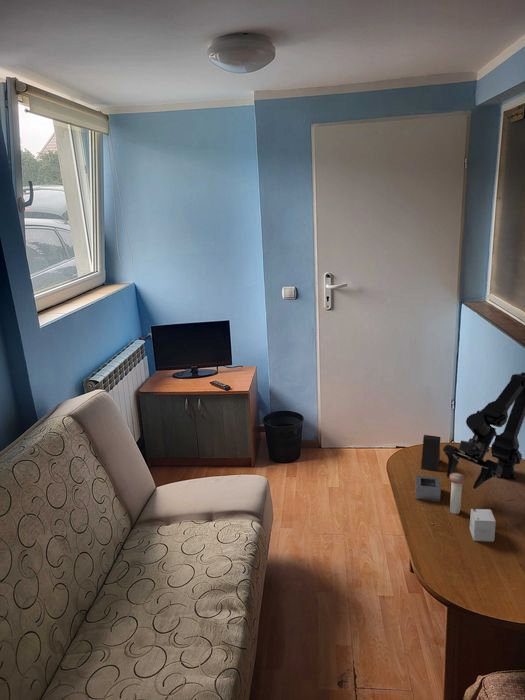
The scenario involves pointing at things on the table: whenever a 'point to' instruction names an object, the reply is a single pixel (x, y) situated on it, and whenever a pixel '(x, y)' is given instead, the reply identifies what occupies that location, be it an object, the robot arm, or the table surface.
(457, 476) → the pin
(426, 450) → the phone stand
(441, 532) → the table surface
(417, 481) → the block
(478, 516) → the skincare box
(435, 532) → the table surface
